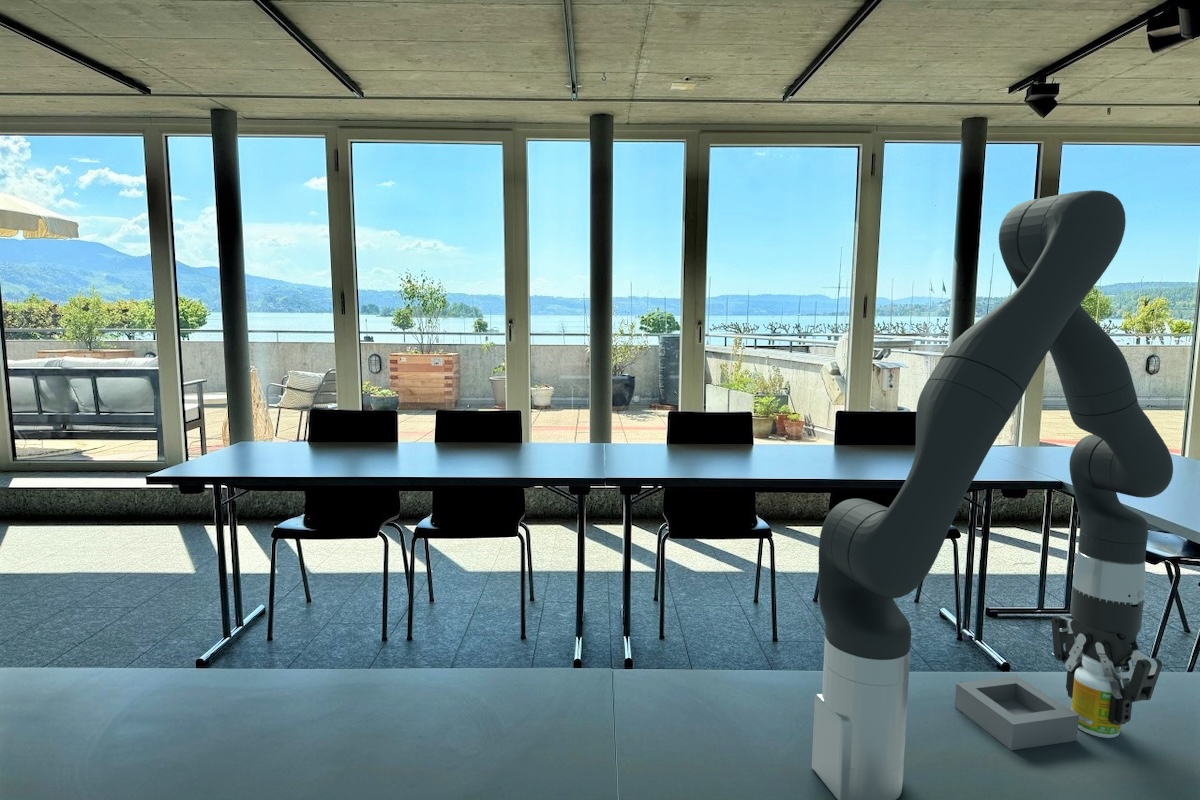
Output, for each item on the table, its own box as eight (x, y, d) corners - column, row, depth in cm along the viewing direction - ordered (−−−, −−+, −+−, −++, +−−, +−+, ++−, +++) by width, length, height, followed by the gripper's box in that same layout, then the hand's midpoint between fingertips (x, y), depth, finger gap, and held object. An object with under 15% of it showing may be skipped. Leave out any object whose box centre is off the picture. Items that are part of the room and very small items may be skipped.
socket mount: (1011, 750, 86) (1013, 724, 85) (954, 706, 96) (956, 683, 95) (1076, 740, 88) (1079, 715, 87) (1014, 698, 98) (1016, 675, 97)
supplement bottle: (1098, 742, 88) (1105, 671, 86) (1060, 718, 93) (1066, 651, 92) (1130, 735, 89) (1137, 665, 88) (1090, 712, 94) (1097, 646, 93)
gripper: (1037, 570, 95) (1028, 685, 97) (1138, 614, 81) (1125, 746, 83) (1082, 567, 96) (1072, 679, 98) (1188, 608, 82) (1174, 738, 84)
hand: (1096, 709), depth 91 cm, fingers closed on supplement bottle, 5 cm apart
